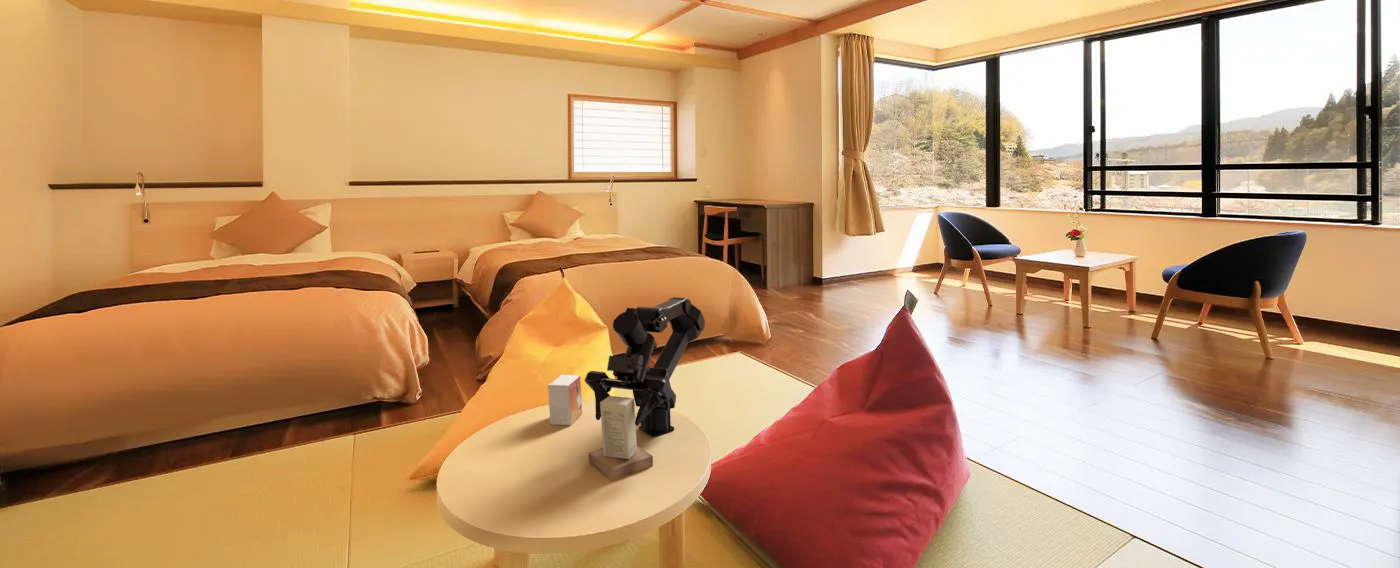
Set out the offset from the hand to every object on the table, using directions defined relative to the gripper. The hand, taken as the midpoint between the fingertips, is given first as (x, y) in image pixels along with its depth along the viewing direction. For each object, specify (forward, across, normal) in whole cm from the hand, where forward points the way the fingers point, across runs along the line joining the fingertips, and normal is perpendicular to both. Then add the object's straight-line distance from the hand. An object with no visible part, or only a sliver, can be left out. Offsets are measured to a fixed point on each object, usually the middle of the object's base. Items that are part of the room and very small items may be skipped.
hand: (616, 422), depth 134 cm
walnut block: (+7, 0, +8) cm, 11 cm away
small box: (-6, -24, +20) cm, 32 cm away
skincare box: (+5, 0, +6) cm, 8 cm away
